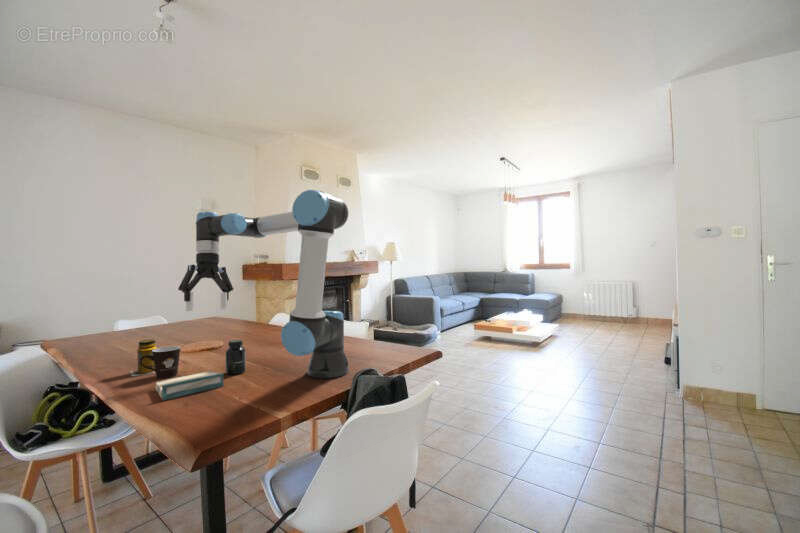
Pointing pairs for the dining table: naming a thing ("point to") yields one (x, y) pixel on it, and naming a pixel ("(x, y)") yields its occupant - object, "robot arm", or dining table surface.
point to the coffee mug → (165, 361)
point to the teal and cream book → (189, 384)
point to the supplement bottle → (235, 358)
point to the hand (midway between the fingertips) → (207, 310)
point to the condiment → (144, 350)
